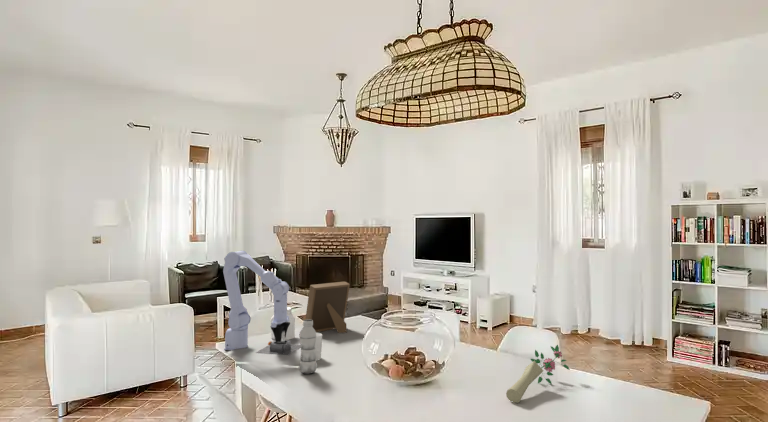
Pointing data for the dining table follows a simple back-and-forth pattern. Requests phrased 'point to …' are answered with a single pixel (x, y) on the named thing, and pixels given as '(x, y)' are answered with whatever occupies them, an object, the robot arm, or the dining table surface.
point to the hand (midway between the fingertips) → (280, 340)
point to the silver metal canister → (282, 338)
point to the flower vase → (533, 375)
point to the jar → (291, 328)
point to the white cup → (318, 346)
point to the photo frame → (328, 306)
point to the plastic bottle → (307, 348)
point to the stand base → (280, 348)
